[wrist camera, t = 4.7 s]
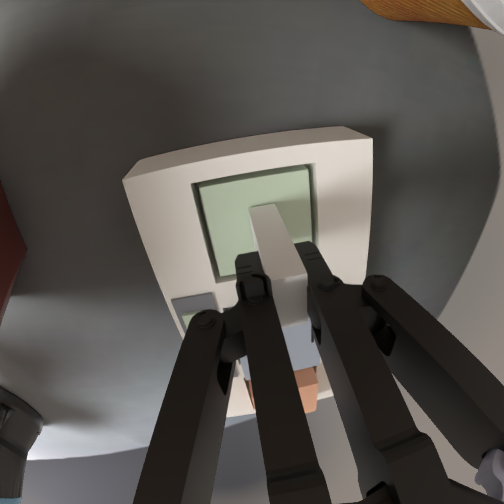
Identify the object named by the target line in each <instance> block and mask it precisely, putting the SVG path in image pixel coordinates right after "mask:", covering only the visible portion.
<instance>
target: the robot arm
mask: <svg viewBox="0 0 504 504" xmlns="http://www.w3.org/2000/svg"><path fill="white" fill-rule="evenodd" d="M248 211H249V218H250V224H251V230H252V237H253V243H254V249H255V252H249V253H244V254H238V255H237V257H236V259H235V261H234V262H235V269H236V277H237V281H236V291H237V295H238V302H237V303H236V305H235V306H234V307H232V308H231V309H229V310H227V311H225V312H223V313H220V312H219V311H217V310H212V309H207V310H202V311H200V312H198V313H196V314H195V315H194V316H193V317H192V318H191V320H190V322H189V325H188V328H187V331H186V334H185V336H184V339H183V342H182V345H181V348H180V351H179V354H178V357H177V360H176V363H175V366H174V369H173V372H172V375H171V378H170V381H169V384H168V387H167V390H166V393H165V397H164V400H163V403H162V406H161V409H160V412H159V415H158V419H157V422H156V425H155V428H154V432H153V435H152V438H151V442H150V445H149V448H148V452H147V455H146V459H145V462H144V465H143V469H142V472H141V476H140V479H139V483H138V486H137V490H136V494H135V497H134V501H133V504H210V501H211V496H212V491H213V485H214V480H215V475H216V469H217V464H218V458H219V453H220V448H221V442H222V437H223V431H224V426H225V421H226V415H227V410H228V404H229V399H230V393H231V388H232V382H233V377H234V371H235V366H236V360H238V359H240V358H242V357H244V356H246V355H247V359H248V366H249V373H250V379H251V385H252V392H253V398H254V404H255V410H256V417H257V423H258V429H259V435H260V440H261V446H262V453H263V458H264V464H265V470H266V476H267V488H268V495H269V501H270V504H332V503H331V499H330V495H329V491H328V488H327V484H326V481H325V477H324V475H323V472H322V470H321V468H320V466H319V464H318V460H317V457H316V453H315V449H314V445H313V441H312V438H311V434H310V431H309V426H308V423H307V419H306V415H305V411H304V408H303V404H302V400H301V397H300V393H299V389H298V386H297V382H296V378H295V374H294V371H293V367H292V363H291V360H290V356H289V353H288V349H287V345H286V342H285V338H284V334H283V331H282V328H285V327H290V326H295V325H299V324H304V323H308V315H309V318H310V321H311V343H313V342H314V340H315V343H316V346H317V349H318V351H319V354H320V357H321V360H322V363H323V366H324V369H325V371H326V374H327V377H328V380H329V383H330V386H331V389H332V392H333V395H334V398H335V400H336V404H337V407H338V410H339V413H340V416H341V419H342V421H343V425H344V428H345V431H346V434H347V437H348V440H349V443H350V446H351V450H352V453H353V456H354V459H355V462H356V465H357V469H358V482H359V487H360V491H361V494H362V497H363V500H362V501H359V502H354V503H342V504H504V386H503V385H502V384H501V382H500V381H499V380H498V379H497V378H496V377H495V376H494V375H493V374H492V373H491V372H490V371H489V370H488V369H487V368H486V367H485V366H484V365H483V364H482V363H481V362H480V361H479V360H478V359H477V358H476V357H475V356H474V355H473V354H472V353H471V352H470V351H469V350H468V349H467V348H466V347H465V346H464V345H463V344H462V343H461V342H460V341H459V340H458V339H457V338H456V337H455V336H454V335H452V334H451V333H450V332H449V331H448V330H447V329H446V328H445V327H444V326H443V325H442V324H441V323H439V321H437V320H436V319H435V318H434V317H433V316H432V315H431V314H430V313H429V312H428V311H426V310H425V309H424V308H423V307H422V306H421V305H420V304H419V303H417V302H416V301H415V300H414V299H413V298H412V297H411V296H410V295H408V294H407V293H406V292H405V291H404V290H403V289H401V288H400V287H399V286H398V285H397V284H396V283H394V282H393V281H392V280H391V279H389V278H388V277H386V276H383V275H371V276H368V277H367V278H365V280H364V281H363V285H358V284H346V283H343V281H342V280H341V279H340V278H339V277H337V276H335V275H333V274H332V272H331V271H330V269H329V267H328V265H327V263H326V262H325V260H324V258H323V256H322V255H321V253H320V251H319V249H318V248H317V246H316V245H315V244H313V243H312V242H310V241H305V242H299V243H293V241H292V239H291V237H290V235H289V233H288V231H287V229H286V227H285V224H284V222H283V220H282V218H281V216H280V214H279V212H278V210H277V208H276V206H275V204H269V205H263V206H257V207H252V208H248ZM392 374H393V375H394V376H395V377H396V379H397V380H398V381H399V382H400V383H401V385H402V386H403V387H404V388H405V389H406V390H407V392H408V393H409V394H410V395H411V396H412V397H413V399H414V400H415V401H416V402H417V404H418V405H419V406H420V407H421V408H422V410H423V411H424V412H425V413H426V414H427V416H428V417H429V418H430V419H431V421H432V422H433V423H434V424H435V425H436V427H437V428H438V429H439V430H440V432H441V433H442V434H443V435H444V436H445V438H446V439H447V440H448V441H449V443H450V444H451V445H452V446H453V448H454V449H455V450H456V451H457V452H458V453H459V454H460V456H461V457H463V459H464V460H465V461H467V462H468V463H469V464H470V465H471V466H473V467H475V468H476V469H478V472H477V473H476V476H475V482H476V484H478V485H482V486H483V487H484V488H485V490H486V492H487V495H485V494H483V493H481V492H478V491H476V490H474V489H471V488H469V487H467V486H464V485H462V484H460V483H458V482H456V481H454V480H452V479H449V478H448V477H447V475H446V472H445V469H444V467H443V464H442V462H441V459H440V457H439V455H438V452H437V450H436V448H435V445H434V443H433V442H432V440H431V438H430V437H429V436H428V435H427V434H425V433H422V432H420V431H419V430H418V429H417V427H416V425H415V423H414V421H413V418H412V416H411V414H410V412H409V410H408V407H407V405H406V403H405V401H404V399H403V397H402V394H401V392H400V390H399V388H398V386H397V384H396V382H395V380H394V378H393V375H392ZM42 427H43V419H42V418H41V416H40V415H39V414H38V413H37V412H36V411H35V410H34V409H32V408H31V407H30V406H29V405H27V404H26V403H25V402H23V401H22V400H20V399H19V398H17V397H16V396H14V395H13V394H11V393H9V392H7V391H6V390H4V389H2V388H0V504H20V503H21V499H22V487H23V479H24V472H25V466H26V460H27V455H28V451H29V450H30V448H31V447H32V445H33V444H34V442H35V440H36V439H37V437H38V435H40V433H41V431H42Z"/></svg>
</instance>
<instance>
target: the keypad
mask: <svg viewBox="0 0 504 504" xmlns="http://www.w3.org/2000/svg"><path fill="white" fill-rule="evenodd" d="M301 164H303V165H304V166H305V167H306V168H307V169H308V174H309V189H310V207H311V228H312V243H313V244H315V245H316V246H317V248H318V249H319V251H320V253H321V255H322V256H323V258H324V260H325V262H326V263H327V265H328V267H329V269H330V271H331V272H332V274H333V275H335V276H337V277H339V278H340V279H341V280H342V281H343V283H346V284H358V285H363V281H364V280H365V276H366V267H367V258H368V248H369V236H370V222H371V205H372V178H373V138H370V137H368V136H366V135H364V134H361V133H359V132H356V131H354V130H352V129H349V128H347V127H344V126H335V127H322V128H311V129H302V130H293V131H284V132H276V133H269V134H262V135H255V136H249V137H242V138H236V139H231V140H225V141H220V142H214V143H209V144H204V145H199V146H194V147H190V148H185V149H181V150H176V151H172V152H168V153H164V154H160V155H156V156H152V157H148V158H144V159H140V160H139V161H138V162H137V163H136V164H135V165H134V166H133V168H132V169H131V170H130V171H129V172H128V174H127V175H126V176H125V177H124V178H123V180H122V181H123V185H124V188H125V191H126V194H127V198H128V201H129V204H130V207H131V210H132V213H133V216H134V219H135V222H136V225H137V227H138V230H139V233H140V236H141V239H142V241H143V244H144V247H145V250H146V252H147V255H148V258H149V260H150V263H151V266H152V268H153V271H154V273H155V276H156V278H157V281H158V283H159V286H160V288H161V291H162V293H163V295H164V298H165V300H166V302H167V305H168V307H169V309H170V312H171V314H172V316H173V319H174V321H175V323H176V325H177V328H178V330H179V332H180V334H181V336H182V339H184V336H185V334H186V331H187V328H188V325H189V322H190V320H191V318H192V317H193V316H194V315H195V314H196V313H198V312H200V311H202V310H207V309H212V310H217V311H219V312H220V313H223V312H225V311H227V310H229V307H233V306H235V305H236V303H237V302H238V295H237V291H236V281H237V277H236V274H231V275H226V276H221V277H220V273H219V269H218V265H217V261H216V257H215V253H214V249H213V244H212V240H211V236H210V232H209V228H208V224H207V219H206V215H205V211H204V207H203V202H202V198H201V193H200V189H199V186H200V182H201V181H205V180H210V179H216V178H221V177H226V176H232V175H237V174H243V173H248V172H254V171H260V170H267V169H273V168H280V167H286V166H293V165H301ZM313 368H314V371H315V374H316V377H317V380H318V394H317V400H319V399H323V398H327V397H330V396H334V395H333V392H332V389H331V386H330V383H329V380H328V377H327V374H326V371H325V369H324V366H323V363H322V360H321V357H320V365H317V366H313ZM253 413H256V411H255V408H254V405H253V402H252V399H251V393H250V387H249V380H246V379H245V376H244V373H243V369H242V366H241V363H240V359H238V360H236V366H235V371H234V377H233V382H232V388H231V393H230V399H229V404H228V410H227V415H226V417H233V416H240V415H246V414H253Z"/></svg>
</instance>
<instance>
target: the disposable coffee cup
mask: <svg viewBox="0 0 504 504" xmlns="http://www.w3.org/2000/svg"><path fill="white" fill-rule="evenodd" d="M361 1H362V3H363V4H365V5H366V6H367V7H368V8H369V9H370V10H372V11H373V12H374V13H376V14H378V15H380V16H382V17H384V18H387V19H390V20H395V21H425V22H438V23H449V24H457V25H464V26H471V27H478V28H482V29H489V30H494V31H495V32H497V33H499V34H501V35H503V36H504V0H361Z"/></svg>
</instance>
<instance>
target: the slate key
mask: <svg viewBox="0 0 504 504" xmlns="http://www.w3.org/2000/svg"><path fill="white" fill-rule="evenodd" d="M233 307H234V306H233ZM231 308H232V307H229V309H231ZM282 331H283V334H284V338H285V342H286V345H287V349H288V353H289V356H290V360H291V363H292V367H293V371H296V370H300V369H305V368H309V367H313V366H317V365H320V354H319V351H318V349H317V346H316V343H315V340H314V342H313V343H311V321H310V318H309V315H308V323H304V324H299V325H295V326H290V327H285V328H282ZM240 363H241V366H242V369H243V373H244V376H245V379H246V380H251V379H250V373H249V366H248V359H247V355H246V356H244V357H242V358H240Z"/></svg>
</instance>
